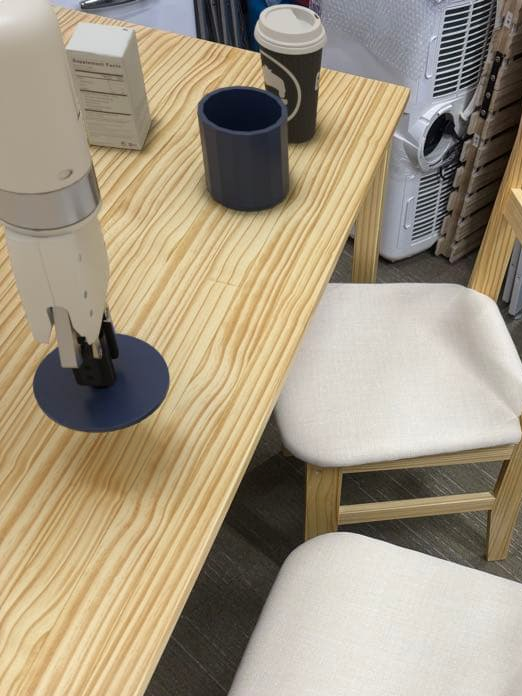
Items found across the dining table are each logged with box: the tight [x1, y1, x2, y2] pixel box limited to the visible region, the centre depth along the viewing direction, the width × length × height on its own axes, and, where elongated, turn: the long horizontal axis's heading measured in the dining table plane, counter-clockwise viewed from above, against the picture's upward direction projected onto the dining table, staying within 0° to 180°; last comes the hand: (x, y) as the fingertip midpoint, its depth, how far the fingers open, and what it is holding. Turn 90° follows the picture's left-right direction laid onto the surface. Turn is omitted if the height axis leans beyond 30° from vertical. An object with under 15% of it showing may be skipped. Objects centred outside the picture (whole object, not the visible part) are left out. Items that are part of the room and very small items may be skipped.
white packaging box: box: [65, 21, 153, 151], centre depth 104 cm, size 7×7×13 cm
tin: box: [196, 85, 290, 212], centre depth 101 cm, size 11×11×10 cm
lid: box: [32, 327, 171, 434], centre depth 70 cm, size 12×12×7 cm
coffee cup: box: [253, 3, 328, 144], centre depth 108 cm, size 10×10×15 cm
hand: (98, 368), depth 71 cm, fingers closed on lid, 2 cm apart
